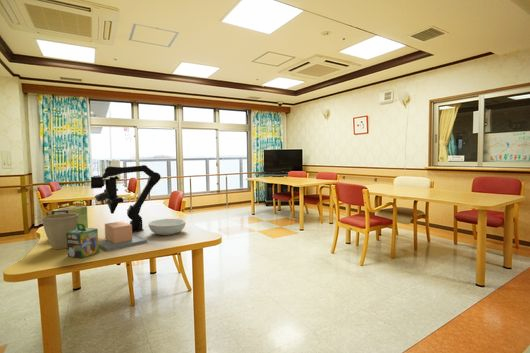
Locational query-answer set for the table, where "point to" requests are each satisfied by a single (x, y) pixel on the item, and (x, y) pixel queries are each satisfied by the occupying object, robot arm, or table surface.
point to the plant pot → (59, 228)
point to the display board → (121, 243)
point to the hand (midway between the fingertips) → (112, 213)
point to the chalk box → (82, 242)
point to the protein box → (78, 210)
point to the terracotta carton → (118, 232)
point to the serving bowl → (166, 226)
